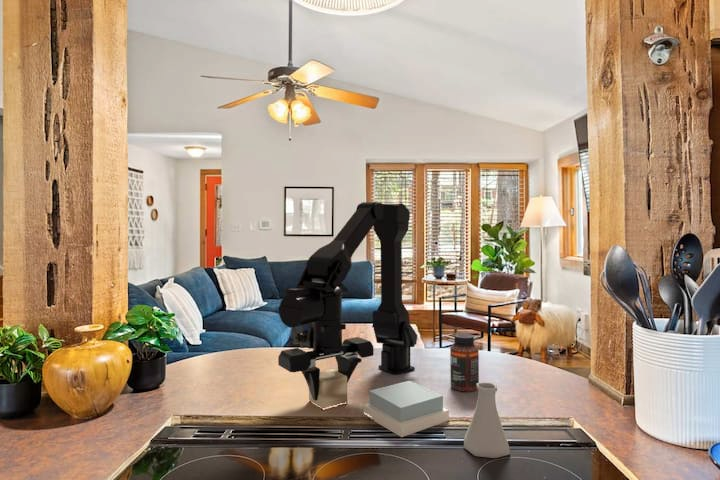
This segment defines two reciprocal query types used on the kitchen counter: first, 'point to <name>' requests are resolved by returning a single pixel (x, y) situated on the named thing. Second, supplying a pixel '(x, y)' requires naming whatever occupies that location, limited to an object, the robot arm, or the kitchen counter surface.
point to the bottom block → (409, 425)
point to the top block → (406, 400)
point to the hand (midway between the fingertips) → (328, 396)
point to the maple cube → (331, 389)
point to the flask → (486, 426)
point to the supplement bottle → (464, 363)
